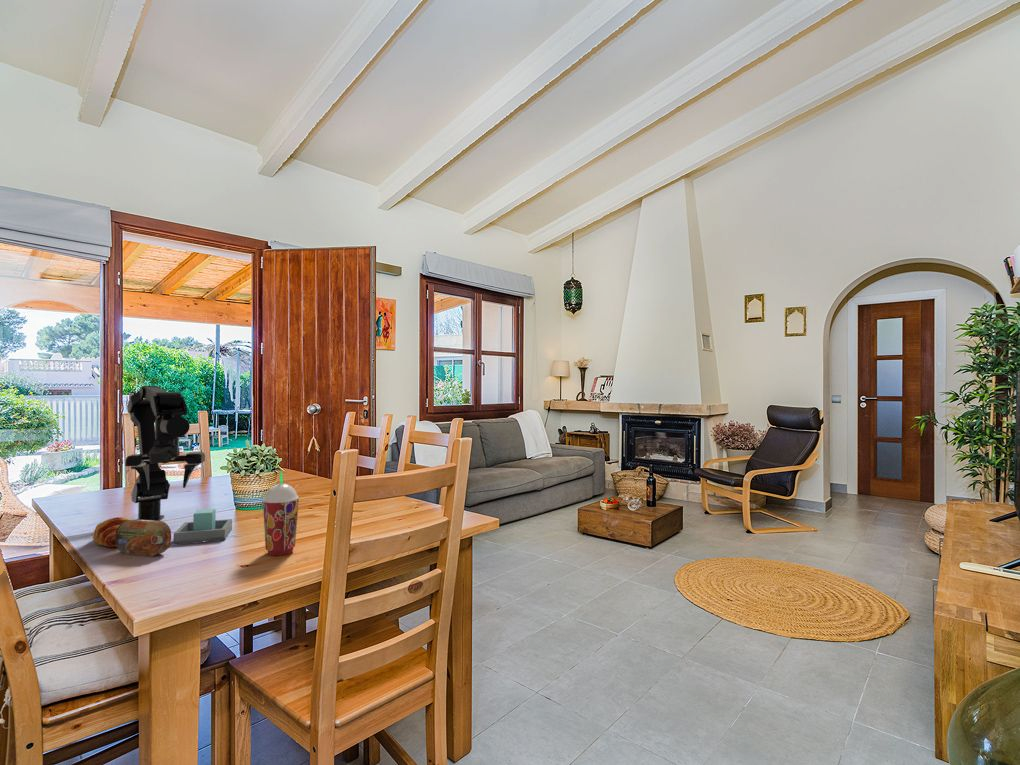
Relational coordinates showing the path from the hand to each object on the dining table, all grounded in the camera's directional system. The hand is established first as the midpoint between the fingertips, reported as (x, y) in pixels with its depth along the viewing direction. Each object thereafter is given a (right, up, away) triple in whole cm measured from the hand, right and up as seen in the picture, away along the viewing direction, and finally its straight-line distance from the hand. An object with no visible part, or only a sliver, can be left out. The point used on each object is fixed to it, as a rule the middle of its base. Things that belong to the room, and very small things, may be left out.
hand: (166, 488), depth 151 cm
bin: (+15, -12, -6) cm, 20 cm away
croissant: (-6, -12, -10) cm, 17 cm away
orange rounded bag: (+9, -12, -21) cm, 26 cm away
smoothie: (+42, -12, -20) cm, 48 cm away
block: (+15, -11, -6) cm, 20 cm away
